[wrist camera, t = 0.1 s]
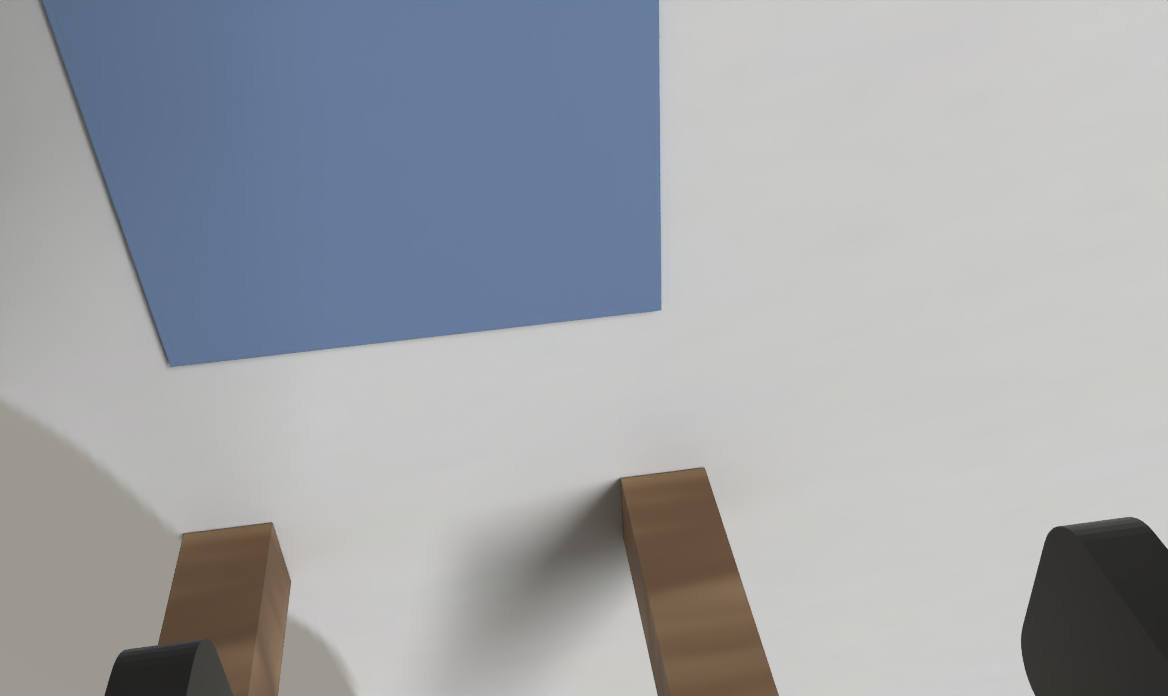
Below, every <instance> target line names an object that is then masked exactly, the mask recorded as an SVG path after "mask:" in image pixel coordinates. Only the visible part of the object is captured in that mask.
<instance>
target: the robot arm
mask: <svg viewBox="0 0 1168 696" xmlns="http://www.w3.org/2000/svg"><path fill="white" fill-rule="evenodd" d="M1021 649H1022V657H1023V662H1024V666H1025V670H1026V674H1027V677H1028V680H1029V683H1030V685H1031V687H1032V690H1033V692H1034V694H1035V696H1168V549H1167V548H1166V547H1165V545H1164V544H1163V543H1162V542H1161V540H1160V539H1159V538H1158V537H1157V536H1156V534H1155V533H1154V532H1153V531H1152V530H1151V529H1150V527H1149V526H1148V525H1146V524H1145V523H1144V522H1143V521H1141V520H1139V519H1137V518H1133V517H1125V518H1118V519H1110V520H1103V521H1095V522H1088V523H1081V524H1073V525H1066V526H1059V527H1055V528H1053V529H1052V530H1051V531H1050V532H1049V534H1048V535H1047V537H1046V540H1045V543H1044V547H1043V551H1042V555H1041V558H1040V562H1039V566H1038V570H1037V574H1036V578H1035V581H1034V585H1033V589H1032V593H1031V597H1030V601H1029V604H1028V608H1027V612H1026V616H1025V620H1024V624H1023V628H1022V634H1021ZM105 696H233V693H232V691H231V688H230V685H229V683H228V680H227V677H226V674H225V672H224V669H223V666H222V664H221V661H220V658H219V656H218V653H217V651H216V648H215V646H214V645H213V643H212V642H211V641H210V640H208V639H201V640H194V641H187V642H179V643H172V644H164V645H157V646H150V647H142V648H135V649H128V650H124V651H123V652H122V653H120V654H119V656H118V657H117V659H116V661H115V663H114V666H113V669H112V672H111V675H110V678H109V682H108V685H107V689H106V692H105Z"/></svg>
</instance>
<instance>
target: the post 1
mask: <svg viewBox="0 0 1168 696" xmlns="http://www.w3.org/2000/svg"><path fill="white" fill-rule="evenodd" d="M290 586H291V580H290V577H289V574H288V571H287V567H286V564H285V561H284V558H283V555H282V551H281V548H280V545H279V542H278V539H277V535H276V532H275V529H274V526H273V523H267V524H260V525H252V526H244V527H236V528H228V529H220V530H212V531H205V532H197V533H189V534H184V535H183V539H182V543H181V548H180V552H179V557H178V561H177V565H176V569H175V574H174V578H173V582H172V587H171V591H170V595H169V600H168V604H167V608H166V613H165V617H164V621H163V626H162V630H161V634H160V639H159V643H158V645H164V644H172V643H179V642H187V641H194V640H201V639H208V640H210V641H211V642H212V643H213V645H214V646H215V648H216V651H217V653H218V656H219V658H220V661H221V664H222V666H223V669H224V672H225V674H226V677H227V680H228V683H229V685H230V688H231V691H232V693H233V696H278V690H279V681H280V673H281V664H282V655H283V647H284V638H285V629H286V620H287V612H288V603H289V594H290Z"/></svg>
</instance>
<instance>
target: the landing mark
mask: <svg viewBox="0 0 1168 696" xmlns="http://www.w3.org/2000/svg"><path fill="white" fill-rule="evenodd" d="M42 2H43V4H44V7H45V10H46V13H47V16H48V19H49V22H50V24H51V27H52V30H53V33H54V36H55V39H56V42H57V44H58V47H59V50H60V53H61V56H62V59H63V61H64V64H65V67H66V70H67V73H68V76H69V79H70V81H71V84H72V87H73V90H74V93H75V96H76V99H77V101H78V104H79V107H80V110H81V113H82V116H83V118H84V121H85V124H86V127H87V130H88V133H89V136H90V138H91V141H92V144H93V147H94V150H95V153H96V156H97V158H98V161H99V164H100V167H101V170H102V173H103V175H104V178H105V181H106V184H107V187H108V190H109V193H110V195H111V198H112V201H113V204H114V207H115V210H116V213H117V215H118V218H119V221H120V224H121V227H122V230H123V232H124V235H125V238H126V241H127V244H128V247H129V250H130V252H131V255H132V258H133V261H134V264H135V267H136V270H137V272H138V275H139V278H140V281H141V284H142V287H143V289H144V292H145V295H146V298H147V301H148V304H149V307H150V309H151V312H152V315H153V318H154V321H155V324H156V327H157V329H158V332H159V335H160V338H161V341H162V344H163V346H164V349H165V352H166V355H167V358H168V361H169V364H170V366H171V367H175V366H184V365H193V364H201V363H210V362H218V361H227V360H236V359H244V358H253V357H262V356H270V355H279V354H287V353H296V352H305V351H313V350H322V349H331V348H339V347H348V346H357V345H365V344H374V343H382V342H391V341H400V340H408V339H417V338H426V337H434V336H443V335H451V334H460V333H469V332H477V331H486V330H495V329H503V328H512V327H521V326H529V325H538V324H546V323H555V322H564V321H572V320H581V319H590V318H598V317H607V316H615V315H624V314H633V313H641V312H650V311H659V310H661V219H660V97H659V0H42Z"/></svg>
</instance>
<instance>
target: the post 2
mask: <svg viewBox="0 0 1168 696" xmlns="http://www.w3.org/2000/svg"><path fill="white" fill-rule="evenodd" d="M621 491H622V516H623V539H624V543H625V548H626V552H627V557H628V561H629V566H630V571H631V575H632V580H633V584H634V589H635V593H636V598H637V603H638V607H639V612H640V616H641V621H642V625H643V630H644V635H645V639H646V644H647V648H648V653H649V657H650V662H651V667H652V671H653V676H654V680H655V685H656V690H657V694H658V696H779V695H778V692H777V689H776V686H775V683H774V680H773V677H772V673H771V670H770V667H769V664H768V661H767V658H766V655H765V652H764V649H763V646H762V643H761V640H760V636H759V633H758V630H757V627H756V624H755V621H754V618H753V615H752V612H751V609H750V606H749V603H748V600H747V596H746V593H745V590H744V587H743V584H742V581H741V578H740V575H739V572H738V569H737V566H736V563H735V559H734V556H733V553H732V550H731V547H730V544H729V541H728V538H727V535H726V532H725V529H724V526H723V523H722V519H721V516H720V513H719V510H718V507H717V504H716V501H715V498H714V495H713V492H712V489H711V486H710V483H709V479H708V476H707V473H706V470H705V468H699V469H691V470H683V471H676V472H668V473H660V474H652V475H644V476H636V477H628V478H621Z"/></svg>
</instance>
